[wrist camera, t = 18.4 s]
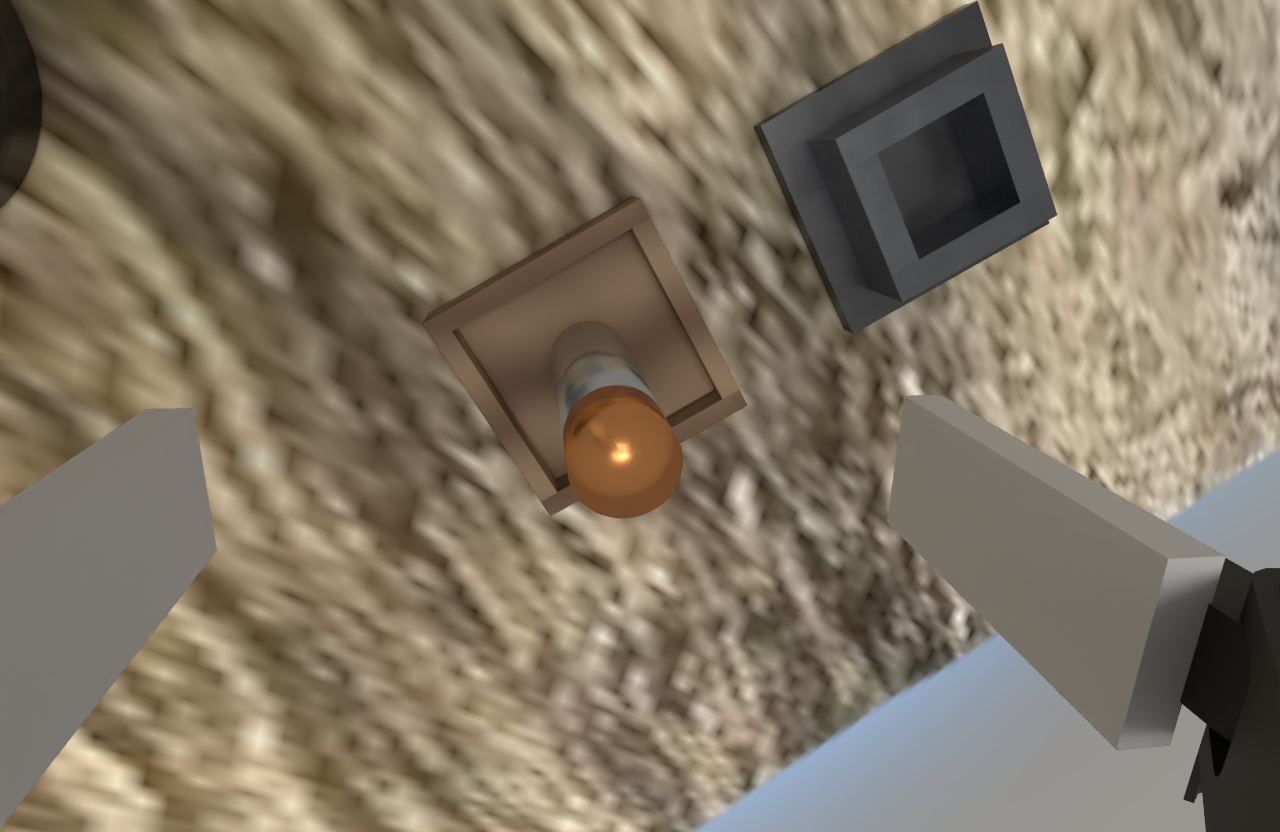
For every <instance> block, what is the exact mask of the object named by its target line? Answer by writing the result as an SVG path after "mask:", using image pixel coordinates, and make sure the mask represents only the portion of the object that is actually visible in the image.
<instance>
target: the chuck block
mask: <svg viewBox="0 0 1280 832" xmlns="http://www.w3.org/2000/svg"><path fill="white" fill-rule="evenodd" d="M754 128H755V131H756V133H757V135H758V137H759V139H760V142H761V144H762V146H763V148H764V151H765V153H766V155H767V157H768V160H769V162H770V164H771V166H772V169H773V171H774V173H775V175H776V177H777V180H778V182H779V184H780V186H781V189H782V191H783V193H784V195H785V198H786V200H787V202H788V204H789V207H790V209H791V211H792V213H793V215H794V218H795V220H796V222H797V224H798V227H799V229H800V231H801V233H802V236H803V238H804V240H805V242H806V245H807V247H808V249H809V251H810V253H811V256H812V258H813V260H814V262H815V265H816V267H817V269H818V271H819V274H820V276H821V278H822V280H823V282H824V285H825V287H826V289H827V291H828V294H829V296H830V298H831V300H832V303H833V305H834V307H835V309H836V312H837V314H838V316H839V318H840V320H841V323H842V325H843V327H844V329H845V330H847V331H849V332H850V333H852V334H854V333H856V332H857V331H859V330H861V329H863V328H865V327H866V326H868V325H870V324H872V323H873V322H875V321H877V320H879V319H881V318H882V317H884V316H886V315H888V314H889V313H891V312H893V311H895V310H896V309H898V308H900V307H902V306H904V305H905V304H907V303H909V302H911V301H912V300H914V299H916V298H918V297H920V296H921V295H923V294H925V293H927V292H928V291H930V290H932V289H934V288H935V287H937V286H939V285H941V284H943V283H944V282H946V281H948V280H950V279H951V278H953V277H955V276H957V275H959V274H960V273H962V272H964V271H966V270H967V269H969V268H971V267H973V266H974V265H976V264H978V263H980V262H982V261H983V260H985V259H987V258H989V257H990V256H992V255H994V254H996V253H997V252H999V251H1001V250H1003V249H1005V248H1006V247H1008V246H1010V245H1012V244H1013V243H1015V242H1017V241H1019V240H1021V239H1022V238H1024V237H1026V236H1028V235H1029V234H1031V233H1033V232H1035V231H1036V230H1038V229H1040V228H1042V227H1044V226H1045V225H1047V224H1049V221H1048V220H1049V219H1051V218H1053V217H1055V216H1056V215H1057V213H1056V210H1055V207H1054V203H1053V200H1052V197H1051V194H1050V191H1049V188H1048V184H1047V181H1046V178H1045V175H1044V172H1043V169H1042V166H1041V162H1040V159H1039V156H1038V153H1037V150H1036V147H1035V143H1034V140H1033V137H1032V134H1031V131H1030V128H1029V125H1028V121H1027V118H1026V115H1025V112H1024V109H1023V106H1022V103H1021V99H1020V96H1019V93H1018V90H1017V87H1016V84H1015V80H1014V77H1013V74H1012V71H1011V68H1010V65H1009V62H1008V58H1007V55H1006V52H1005V49H1004V46H1003V43H1002V44H998V45H994V46H992V44H991V41H990V38H989V35H988V32H987V29H986V25H985V22H984V19H983V16H982V13H981V10H980V7H979V4H978V1H975V2H972V3H969V4H966V5H964V6H962V7H960V8H959V9H957V10H955V11H953V12H952V13H950V14H948V15H946V16H945V17H943V18H941V19H939V20H938V21H936V22H934V23H933V24H931V25H929V26H927V27H926V28H924V29H922V30H920V31H919V32H917V33H915V34H913V35H912V36H910V37H908V38H907V39H905V40H903V41H901V42H900V43H898V44H896V45H894V46H893V47H891V48H889V49H887V50H886V51H884V52H882V53H880V54H879V55H877V56H875V57H874V58H872V59H870V60H868V61H867V62H865V63H863V64H861V65H860V66H858V67H856V68H854V69H853V70H851V71H849V72H847V73H846V74H844V75H842V76H841V77H839V78H837V79H835V80H834V81H832V82H830V83H828V84H827V85H825V86H823V87H821V88H820V89H818V90H816V91H815V92H813V93H811V94H809V95H808V96H806V97H804V98H802V99H801V100H799V101H797V102H795V103H794V104H792V105H790V106H788V107H787V108H785V109H783V110H782V111H780V112H778V113H776V114H775V115H773V116H771V117H769V118H768V119H766V120H764V121H762V122H761V123H759V124H757V125H756V126H754Z"/></svg>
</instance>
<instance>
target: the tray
mask: <svg viewBox="0 0 1280 832" xmlns="http://www.w3.org/2000/svg"><path fill="white" fill-rule="evenodd" d="M583 321H595V322H600V323H603V324H605V325H607V326H609V327H611V328H612V329H613V330H615V331H616V332H617V333H618V335H619V336H620V337H621V339H622V340H623V342H624V344H625V346H626V348H627V349H628V351H629V353H630V355H631V356H632V358H633V360H634V362H635V364H636V365H637V367H638V369H639V371H640V373H641V374H642V376H643V378H644V380H645V381H646V383H647V385H648V387H649V389H650V390H651V392H652V394H653V396H654V398H655V399H656V401H657V403H658V405H659V406H660V408H661V410H662V412H663V414H664V415H665V417H666V419H667V421H668V422H669V424H670V426H671V428H672V430H673V431H674V433H675V435H676V437H677V439H678V441H679V443H681V442H683V441H685V440H687V439H689V438H690V437H692V436H694V435H696V434H697V433H699V432H701V431H703V430H704V429H706V428H708V427H710V426H712V425H713V424H715V423H717V422H719V421H720V420H722V419H724V418H726V417H728V416H729V415H731V414H733V413H735V412H736V411H738V410H740V409H742V408H744V407H745V406H747V404H746V402H745V400H744V398H743V396H742V394H741V392H740V390H739V388H738V386H737V384H736V382H735V380H734V378H733V377H732V375H731V373H730V371H729V369H728V367H727V365H726V363H725V361H724V359H723V357H722V355H721V353H720V352H719V350H718V348H717V346H716V344H715V342H714V340H713V338H712V336H711V334H710V332H709V330H708V328H707V326H706V325H705V323H704V321H703V319H702V317H701V315H700V313H699V311H698V309H697V307H696V305H695V303H694V301H693V299H692V298H691V296H690V294H689V292H688V290H687V288H686V286H685V284H684V282H683V280H682V278H681V276H680V274H679V273H678V271H677V269H676V267H675V265H674V263H673V261H672V259H671V257H670V255H669V253H668V251H667V249H666V247H665V246H664V244H663V242H662V240H661V238H660V236H659V234H658V232H657V230H656V228H655V226H654V224H653V222H652V221H651V219H650V217H649V215H648V213H647V211H646V209H645V207H644V205H643V203H642V201H641V199H640V198H637V197H634V196H632V197H631V198H629V199H627V200H625V201H624V202H622V203H620V204H618V205H617V206H615V207H613V208H611V209H610V210H608V211H606V212H605V213H603V214H601V215H599V216H598V217H596V218H594V219H592V220H591V221H589V222H587V223H585V224H584V225H582V226H580V227H579V228H577V229H575V230H573V231H572V232H570V233H568V234H566V235H565V236H563V237H561V238H559V239H558V240H556V241H554V242H552V243H551V244H549V245H547V246H546V247H544V248H542V249H540V250H539V251H537V252H535V253H533V254H532V255H530V256H528V257H526V258H525V259H523V260H521V261H520V262H518V263H516V264H514V265H513V266H511V267H509V268H507V269H506V270H504V271H502V272H500V273H499V274H497V275H495V276H493V277H492V278H490V279H488V280H487V281H485V282H483V283H481V284H480V285H478V286H476V287H474V288H473V289H471V290H469V291H467V292H466V293H464V294H462V295H461V296H459V297H457V298H455V299H454V300H452V301H450V302H448V303H447V304H445V305H443V306H441V307H440V308H438V309H436V310H434V311H433V312H431V313H429V314H428V316H427V317H426V319H425V321H424V322H423V326H424V327H425V329H426V330H427V332H428V333H429V335H430V336H431V338H432V339H433V341H434V342H435V344H436V345H437V347H438V348H439V350H440V351H441V353H442V354H443V356H444V357H445V359H446V360H447V362H448V363H449V365H450V366H451V368H452V369H453V371H454V372H455V374H456V375H457V377H458V378H459V380H460V381H461V383H462V384H463V386H464V387H465V389H466V390H467V392H468V393H469V395H470V396H471V398H472V399H473V401H474V402H475V404H476V405H477V407H478V408H479V410H480V411H481V413H482V414H483V416H484V417H485V419H486V420H487V422H488V423H489V425H490V426H491V428H492V429H493V431H494V432H495V434H496V435H497V437H498V438H499V440H500V441H501V443H502V444H503V446H504V447H505V449H506V450H507V452H508V453H509V455H510V456H511V458H512V459H513V461H514V462H515V464H516V465H517V467H518V468H519V470H520V471H521V473H522V474H523V476H524V477H525V479H526V480H527V482H528V483H529V485H530V486H531V488H532V489H533V491H534V492H535V494H536V495H537V497H538V498H539V500H540V501H541V503H542V504H543V506H544V507H545V509H546V510H547V512H548V513H549V515H550V516H552V515H554V514H555V513H557V512H559V511H561V510H563V509H564V508H566V507H568V506H570V505H571V504H573V503H575V502H577V501H579V498H578V497H577V496H576V494H575V493H574V491H573V489H572V487H571V485H570V482H569V478H568V473H567V466H566V460H565V453H564V446H563V440H562V433H561V426H560V420H559V413H558V406H557V400H556V393H555V386H554V380H553V373H552V366H551V352H552V348H553V345H554V343H555V341H556V339H557V338H558V336H559V335H560V334H561V333H562V332H563V331H564V330H565V329H566V328H568V327H569V326H571V325H573V324H576V323H579V322H583Z"/></svg>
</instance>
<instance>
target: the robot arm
mask: <svg viewBox="0 0 1280 832" xmlns="http://www.w3.org/2000/svg"><path fill="white" fill-rule="evenodd" d="M39 122H40V93H39V84H38V77H37V71H36V67H35V63H34V59H33V55H32V52H31V49H30V46H29V43H28V40H27V38H26V35H25V32H24V30H23V28H22V25H21V23H20V21H19V19H18V17H17V15H16V13H15V11H14V9H13V7H12V5H11V4H10V2H9V0H0V206H1V205H2V204H3V203H5V201H6V200H7V199H8V198H9V197H10V196H11V194H12V193H13V192H14V190H15V189H16V188H17V186H18V185H19V183H20V181H21V180H22V178H23V176H24V175H25V173H26V170H27V168H28V166H29V164H30V161H31V159H32V156H33V153H34V150H35V146H36V142H37V137H38V131H39ZM887 522H888V523H889V524H890V525H891V526H892V527H893V528H894V529H895V530H896V531H897V532H898V533H899V534H900V535H901V536H902V537H903V538H904V539H905V540H906V541H907V542H908V543H909V544H910V545H911V546H912V547H913V548H914V549H915V550H916V551H917V552H918V553H919V554H920V555H921V556H922V557H923V558H924V559H925V560H926V561H927V562H928V563H929V564H930V565H931V566H932V567H933V568H934V569H935V570H936V571H937V572H938V573H939V574H940V575H941V576H942V577H943V578H944V579H945V580H946V581H947V582H948V583H949V584H950V585H951V586H952V587H953V588H954V589H955V590H956V591H957V592H958V593H959V594H960V595H961V596H962V597H963V598H964V599H965V600H966V601H967V602H968V603H969V604H970V605H971V606H972V607H973V608H974V609H975V610H976V611H977V612H978V613H979V614H980V615H981V616H982V617H983V618H984V619H985V620H986V621H987V622H988V623H989V624H990V625H991V626H992V627H993V628H994V629H995V630H996V631H997V632H998V633H999V634H1000V635H1001V636H1002V637H1003V638H1004V639H1005V640H1006V641H1007V642H1008V643H1009V644H1010V645H1011V646H1012V647H1014V649H1015V650H1016V651H1018V653H1019V654H1020V655H1021V656H1022V657H1024V658H1025V659H1026V660H1027V662H1029V664H1031V665H1032V666H1033V667H1034V668H1035V669H1036V670H1037V671H1038V672H1039V673H1040V674H1041V675H1042V676H1043V677H1044V678H1045V679H1046V680H1047V681H1048V682H1049V683H1050V684H1051V685H1052V686H1053V687H1054V688H1055V689H1056V690H1057V691H1058V692H1059V693H1060V694H1061V695H1062V696H1063V697H1064V698H1065V699H1066V700H1067V701H1068V702H1069V703H1070V704H1071V705H1072V706H1073V707H1074V708H1075V709H1076V710H1077V711H1078V712H1079V713H1080V714H1081V715H1082V716H1083V717H1084V718H1085V719H1086V720H1087V721H1088V722H1089V723H1090V724H1091V725H1092V726H1093V727H1094V728H1095V729H1096V730H1097V731H1098V732H1099V733H1100V734H1101V735H1102V736H1103V737H1104V738H1105V739H1106V740H1107V741H1108V742H1109V743H1110V744H1111V745H1112V746H1113V747H1114V748H1115V749H1116V750H1126V749H1136V748H1147V747H1158V746H1169V745H1170V743H1171V740H1172V736H1173V733H1174V729H1175V726H1176V723H1177V720H1178V716H1179V713H1180V710H1181V706H1182V704H1183V705H1184V706H1186V707H1187V708H1188V709H1189V710H1190V711H1192V712H1193V713H1194V714H1195V715H1196V716H1198V717H1199V718H1200V719H1201V720H1203V721H1204V722H1205V723H1206V724H1207V725H1206V728H1205V732H1204V735H1203V738H1202V741H1201V744H1200V747H1199V751H1198V754H1197V757H1196V760H1195V764H1194V767H1193V770H1192V773H1191V776H1190V780H1189V783H1188V786H1187V790H1186V793H1185V796H1184V800H1186V801H1189V802H1192V803H1194V801H1195V799H1196V797H1197V795H1198V793H1202V795H1203V805H1204V816H1205V826H1206V832H1280V568H1265V569H1262V570H1259V571H1256V572H1254V574H1253V573H1251V572H1249V571H1248V570H1246V569H1244V568H1242V567H1241V566H1239V565H1237V564H1235V563H1234V562H1232V561H1230V560H1228V559H1227V558H1225V557H1226V556H1225V555H1223V554H1222V553H1220V552H1218V551H1216V550H1214V549H1212V548H1210V547H1209V546H1207V545H1206V544H1204V543H1202V542H1200V541H1198V540H1197V539H1195V538H1193V537H1191V536H1190V535H1188V534H1186V533H1184V532H1182V531H1181V530H1179V529H1177V528H1175V527H1174V526H1172V525H1170V524H1168V523H1167V522H1165V521H1163V520H1161V519H1159V518H1158V517H1156V516H1154V515H1152V514H1151V513H1149V512H1147V511H1145V510H1143V509H1142V508H1140V507H1138V506H1136V505H1135V504H1133V503H1131V502H1129V501H1128V500H1126V499H1124V498H1122V497H1120V496H1119V495H1117V494H1115V493H1113V492H1112V491H1110V490H1108V489H1106V488H1104V487H1103V486H1101V485H1099V484H1097V483H1096V482H1094V481H1092V480H1090V479H1089V478H1087V477H1085V476H1083V475H1081V474H1080V473H1078V472H1076V471H1074V470H1073V469H1071V468H1069V467H1067V466H1065V465H1064V464H1062V463H1060V462H1058V461H1057V460H1055V459H1053V458H1051V457H1050V456H1048V455H1046V454H1044V453H1042V452H1041V451H1039V450H1037V449H1035V448H1034V447H1032V446H1030V445H1028V444H1026V443H1025V442H1023V441H1021V440H1019V439H1018V438H1016V437H1014V436H1012V435H1011V434H1009V433H1007V432H1005V431H1003V430H1002V429H1000V428H998V427H996V426H995V425H993V424H991V423H989V422H987V421H986V420H984V419H982V418H980V417H979V416H977V415H975V414H973V413H972V412H970V411H968V410H966V409H964V408H963V407H961V406H959V405H957V404H956V403H954V402H952V401H950V400H948V399H947V398H945V397H943V396H941V395H919V396H905V397H904V404H903V411H902V419H901V426H900V433H899V440H898V447H897V454H896V461H895V469H894V476H893V483H892V490H891V497H890V504H889V512H888V519H887ZM216 551H217V549H216V543H215V537H214V531H213V525H212V518H211V512H210V506H209V500H208V494H207V488H206V481H205V475H204V469H203V463H202V457H201V451H200V444H199V438H198V432H197V426H196V420H195V414H194V408H179V409H145V410H144V411H142V412H141V413H139V414H138V415H136V416H135V417H133V418H132V419H130V420H129V421H127V422H126V423H124V424H123V425H121V426H120V427H118V428H117V429H115V430H114V431H112V432H111V433H109V434H108V435H106V436H105V437H103V438H102V439H100V440H99V441H97V442H96V443H94V444H93V445H91V446H90V447H88V448H87V449H85V450H84V451H82V452H81V453H79V454H78V455H76V456H75V457H73V458H72V459H70V460H69V461H67V462H66V463H64V464H63V465H61V466H60V467H58V468H57V469H55V470H54V471H52V472H51V473H49V474H48V475H46V476H45V477H43V478H42V479H40V480H39V481H37V482H36V483H34V484H33V485H31V486H30V487H28V488H27V489H25V490H24V491H22V492H21V493H19V494H18V495H16V496H15V497H13V498H12V499H10V500H9V501H7V502H6V503H4V504H3V505H1V506H0V828H1V827H2V826H3V824H4V823H5V822H6V821H7V819H8V818H9V817H10V815H11V814H12V813H13V812H14V810H15V809H16V808H17V807H18V805H19V804H20V803H21V801H22V800H23V799H24V798H25V796H26V795H27V794H28V792H29V791H30V790H31V789H32V787H33V786H34V785H35V783H36V782H37V781H38V780H39V778H40V777H41V776H42V774H43V773H44V772H45V771H46V769H47V768H48V767H49V765H50V764H51V763H52V762H53V760H54V759H55V758H56V756H57V755H58V754H59V753H60V751H61V750H62V749H63V747H64V746H65V745H66V744H67V742H68V741H69V740H70V738H71V737H72V736H73V735H74V733H75V732H76V731H77V729H78V728H79V727H80V726H81V724H82V723H83V722H84V720H85V719H86V718H87V717H88V715H89V714H90V713H91V711H92V710H93V709H94V708H95V706H96V705H97V704H98V702H99V701H100V700H101V699H102V697H103V696H104V695H105V693H106V692H107V691H108V690H109V688H110V687H111V686H112V684H113V683H114V682H115V681H116V679H117V678H118V677H119V675H120V674H121V673H122V672H123V670H124V669H125V668H126V666H127V665H128V664H129V663H130V661H131V660H132V659H133V657H134V656H135V655H136V654H137V652H138V651H139V650H140V648H141V647H142V646H143V645H144V643H145V642H146V641H147V639H148V638H149V637H150V636H151V634H152V633H153V632H154V630H155V629H156V628H157V627H158V625H159V624H160V623H161V621H162V620H163V619H164V618H165V616H166V615H167V614H168V612H169V611H170V610H171V609H172V607H173V606H174V605H175V603H176V602H177V601H178V600H179V598H180V597H181V596H182V595H183V593H184V592H185V591H186V589H187V588H188V587H189V586H190V584H191V583H192V582H193V580H194V579H195V578H196V577H197V575H198V574H199V573H200V571H201V570H202V569H203V568H204V566H205V565H206V564H207V562H208V561H209V560H210V559H211V557H212V556H213V555H214V553H215V552H216Z"/></svg>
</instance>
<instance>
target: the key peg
mask: <svg viewBox="0 0 1280 832" xmlns="http://www.w3.org/2000/svg"><path fill="white" fill-rule="evenodd" d="M551 366H552V373H553V380H554V386H555V393H556V400H557V406H558V413H559V420H560V426H561V433H562V440H563V446H564V453H565V460H566V466H567V473H568V478H569V482H570V485H571V487H572V489H573V491H574V493H575V494H576V496H577V497H578V498H579V500H580V501H581V502H582V503H583V504H584V505H586V506H587V507H588V508H590V509H591V510H593V511H595V512H597V513H599V514H601V515H604V516H608V517H614V518H631V517H636V516H640V515H643V514H646V513H648V512H650V511H652V510H654V509H655V508H657V507H658V506H660V505H661V504H662V503H663V502H665V501H666V499H667V498H668V497H669V496H670V495H671V494H672V492H673V491H674V489H675V488H676V486H677V484H678V482H679V479H680V476H681V472H682V466H683V456H682V450H681V446H680V443H679V441H678V439H677V437H676V435H675V433H674V431H673V430H672V428H671V426H670V424H669V422H668V421H667V419H666V417H665V415H664V414H663V412H662V410H661V408H660V406H659V405H658V403H657V401H656V399H655V398H654V396H653V394H652V392H651V390H650V389H649V387H648V385H647V383H646V381H645V380H644V378H643V376H642V374H641V373H640V371H639V369H638V367H637V365H636V364H635V362H634V360H633V358H632V356H631V355H630V353H629V351H628V349H627V348H626V346H625V344H624V342H623V340H622V339H621V337H620V336H619V335H618V333H617V332H616V331H615V330H613V329H612V328H611V327H609V326H607V325H605V324H603V323H600V322H595V321H583V322H579V323H576V324H573V325H571V326H569V327H568V328H566V329H565V330H564V331H563V332H562V333H561V334H560V335H559V336H558V338H557V339H556V341H555V343H554V345H553V348H552V352H551Z"/></svg>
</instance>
